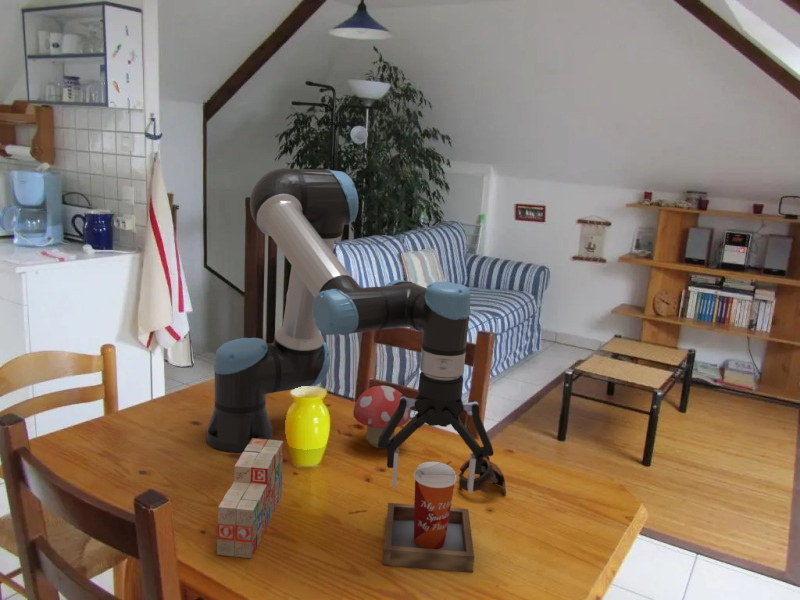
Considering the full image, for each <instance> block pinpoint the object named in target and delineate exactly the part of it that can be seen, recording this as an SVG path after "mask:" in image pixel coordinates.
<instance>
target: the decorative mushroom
mask: <svg viewBox="0 0 800 600" xmlns="http://www.w3.org/2000/svg"><path fill="white" fill-rule="evenodd" d="M401 395H403V394H402V393H401V392H400V391H399V390H397V389H396V388H394V387H392V386H388V385H376V386H372V387H370V388H367V389H366V390H365V391H363V393H361V394H360V396H358V398H357V399H356V402H355V403H354V407H353V412H352V415H353V417H354V418H355V420H356V421H357V422H358V423H360V424H361V425H363V426H366V434H365V440H366V441H368V443H369V444H370V445H372V447H374V448H377V449H380V448H379V447H378V440H379V437H380V435H381V434H382V432H383V430H384V429H385V427H386V425H387V424H388V422H389V421H390V419H391V417H392V416H393V414H394V413H395V411H396V409H397V408H398V406H399V400H400V396H401ZM410 410H411V409H410ZM410 410H408V411H405V413H404V415H403V417H402V419H401V420H400V422H399V424H398V425H397V427H396V428H399V427H402V426H403V425H404V426H405V425H406V424H408V423H409V422H410V418H411V411H410ZM395 430H396V429H395ZM395 430H394V432H393V433H392V435H391V437H390V438H389V439H390V440H391V439H392V438H393V437H394V436H395Z"/></svg>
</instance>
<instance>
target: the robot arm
mask: <svg viewBox="0 0 800 600" xmlns="http://www.w3.org/2000/svg"><path fill="white" fill-rule="evenodd" d="M357 191H358V190H357V189H356V185H355V182H354V181H353V179H352V178H351V177H350V175H348V174H347V173H346V172H344V171H340V170H331V169H329V168H326V169H318V168H317V169H315V168H314V169H313V168H312V169H310V168H287V167H282V168H277V169H274V170H270V171H268V172H267V173H265V174H264V175H263V176H261V178H260V179H259V180H258V181H257V182H256V183H255V185H254V187H253V189H252V191H251V193H250V194H251V195H250V198H249V199H250V200H249V210H250V214H251V217H252V219H253V221H254V223H255V225H256V226H257V228H258V229H259V230H260V231H261V232H262V233H263V234H264V235H266V236H270V237H271V238H272V240H273V242H274V243H275V244H276V245H277V246H278V248H279V250H280V251H281V252H282V254H283V255H284V257H285V258H286V259H287V261H288V262H289V263H290V266H291V267H290V274H289V281H288V287H287V294H286V301H285V309H284V315H283V322H282V327H280V328H278V329H277V330H276V331H275V333H274V337H273V338H274V339H273V342H272V343H267V342H266V340H264V339H262V338H259V337H250V338H249V337H241V338H236V339H232V340H228V341H226V342H225V343H222V344H221V345H220V346H219V347H218V348H217V350H216V352H215V359H214V365H213V371H214V408H213V412H212V414H211V416H210V420H209V423H208V425H207V428H206V442H207V444H208V445H209V446H211V447H212V448H214V449H216V450H220V451H222V452H223V451H224V452H231V453H243V452H244V450H245V448H246V447H247V445H248V444H249V443H250V441H251V440H252V439H253V438H255V439H267V440H273V434H274V433H273V431H274V429H273V425H272V422H271V419H270V416H269V413H268V409H267V395H268V394H274V393H279V392H285V391H291V390H296V389H295V388H298V387H301V386H310V387H313V386H317V385H320V384H321V383H323V381H324V380H325V379H326V377H327V375H328V373H329V370H330V366H331V358H330V357H329V355H330V350H329V346H328V345H327V342H325V340H324V336H323V334H324V335H328V336H336V335H340V336H345V335H350V334H351V335H352V334H358V333H364V332H366V333H367V332H371V331H373V332H374V331H382V330H390V329H398V328H399V329H400V328H411V329H413V330H415V331H418V332H420V333H422V341H421V349H420V352H421V353H420V365H419V366H420V371H421V372H419V377H418V378H419V379H418V389H417V390H418V391H417V396H416V398H412V397H407V395H406V394H402V395H401V396H400V400H399V406H398V408H397V409H396V411H395V413H394V414H393V416H392V417H391V419H390V421H389V422H388V424H387V425H386V427H385V429H384V430H383V432H382V434H381V435H380V437H379V440H378V447H379V448H378V449H384V450H386V451H387V456H386V467H387V469H390V468H391V469H392V479H391V480H392V481H391V487H392V488H395V489H396V488H397V480H398V479H397V478H398V465H399V452H400V451H399V450H400V446H401V445H402V444H403V443H404V442H406V440H407V439H408V438H410V437H411V435H413V433H415V432H416V431H417V430H418V429H419V428H422V427H423V425H424V424H426V425H428V426H430V427H431V426H432V427H435V426H440V427H441V428H442V427H444V428H446V427H447V426H450V425H451V427H452V428H453V429H454V431H455V432H456V433H457V434H458V435H459V436H460V438H461V439H462V440H463V442H464V443H465V444H466V445H467V447H468V448H469V450H470V451H471V452H470V454H469V455H470V456H469V459H470V463H469V468H468V475H467V479H468V484H467V487H468V491H467V493H468V494H474V491H473V484H474V479H475V475H479V476H480V473H481V466H482V460H483V457H485V456H489V457H491V456H494V448H493V445H492V442H491V440H490V438H489V435H488V433H487V430H486V428H485V425H484V423H483V420H482V418H481V415H480V407H479V406H480V405H479V402H478V400H477V399H473V400H472V401H470V402H463V400H462V398H463V397H462V396H463V387H464V376H463V375H464V372H465V364H466V363H465V361H466V353H467V352H466V349H467V343H468V334H469V333H468V332H469V331H468V330H469V325H470V324H469V321H470V315H471V311H472V310H471V291H470V289H469V288H468V286H466V285H464V284H461V283H455V282H451V281H435V282H431V283H429V284H428V285H427V287H424V286H422V285H419V284H417V283H415V282H412V281H409V280H403V279H395V280H392V281H390V282H388V283H387V284H386V285H384V286H383V285H382V286H367V287H363V286H362V287H361V286H360V285H359V284H358V282H357V281H356V280H355V278H353V276H352V275H351V274H350V272H349V271H348V270H347V269H346V267H345V266H344V265H343V263H341V261H340V260H339V258H338V257H337V256H336V255H335V253H334V245H335V242H336V241H337V240H339V239H340V238H342V237H343V233H344V227H345V225H346V226H347V225H350V224H352V223H353V222H354V221H355V220H356V218H357V217H358V216H357V215H358V212H359V197H358V192H357ZM320 332H321V333H322V334H321V333H320ZM412 407H414V408H415V410H416V411H417V413H416V414H415V415H414V416H413V418H411V420H409V421H408V422H407V423H406V424H405V425H404V426H403V427H401V429H400V430H399V431H398V432H397V433H396V434H394V437H393V438H392V439H391V440H390V439H389V438H390V437H391V435H392V433H393V432H394V430H396V429H397V428H398V427H397V425H398V424H399V422H400V420H401V419H402V417H403V415H404V413H405V411H408V410H411V409H412ZM463 411H466V413H467V415H468V416H472V417H471V418H472V421H473V423H474V426H475V429H476V431H477V434H478V436H479V439H480V441H481V442H482V446H480V445H479V443H478V441H476V439H475V438H474V436H473V435H472V434H471V432H470V431H469V430H468V428H467V427H466V426H465V424H464V422H462V420H461V418H460V417H459V416H460V415H461V414H462V413H463ZM394 433H395V432H394Z"/></svg>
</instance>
